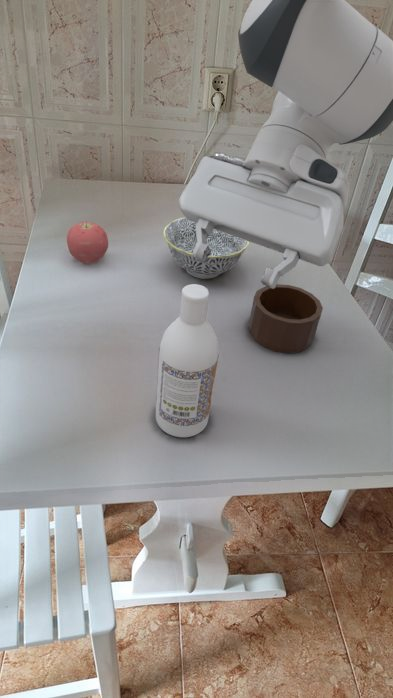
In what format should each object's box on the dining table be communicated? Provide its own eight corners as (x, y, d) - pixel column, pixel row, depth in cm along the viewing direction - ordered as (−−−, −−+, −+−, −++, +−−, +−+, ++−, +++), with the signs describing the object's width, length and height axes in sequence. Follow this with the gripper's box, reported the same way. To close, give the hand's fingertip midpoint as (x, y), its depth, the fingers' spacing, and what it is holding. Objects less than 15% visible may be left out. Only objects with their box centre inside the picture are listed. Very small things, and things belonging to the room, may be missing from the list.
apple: (64, 254, 94) (60, 215, 89) (100, 249, 97) (99, 210, 92) (75, 273, 90) (72, 233, 85) (113, 266, 93) (112, 227, 88)
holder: (305, 315, 86) (313, 286, 82) (319, 354, 78) (329, 324, 74) (244, 312, 85) (250, 282, 81) (253, 351, 77) (259, 321, 73)
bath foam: (213, 436, 63) (236, 308, 50) (160, 442, 61) (169, 311, 48) (201, 398, 68) (219, 272, 55) (151, 402, 66) (158, 274, 53)
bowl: (237, 299, 88) (243, 262, 83) (152, 283, 89) (153, 245, 85) (247, 258, 100) (254, 224, 95) (172, 244, 102) (175, 210, 97)
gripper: (200, 134, 60) (151, 234, 59) (361, 178, 53) (307, 293, 52) (213, 162, 66) (169, 253, 65) (360, 205, 59) (312, 309, 58)
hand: (231, 271), depth 59 cm, fingers open, 8 cm apart
